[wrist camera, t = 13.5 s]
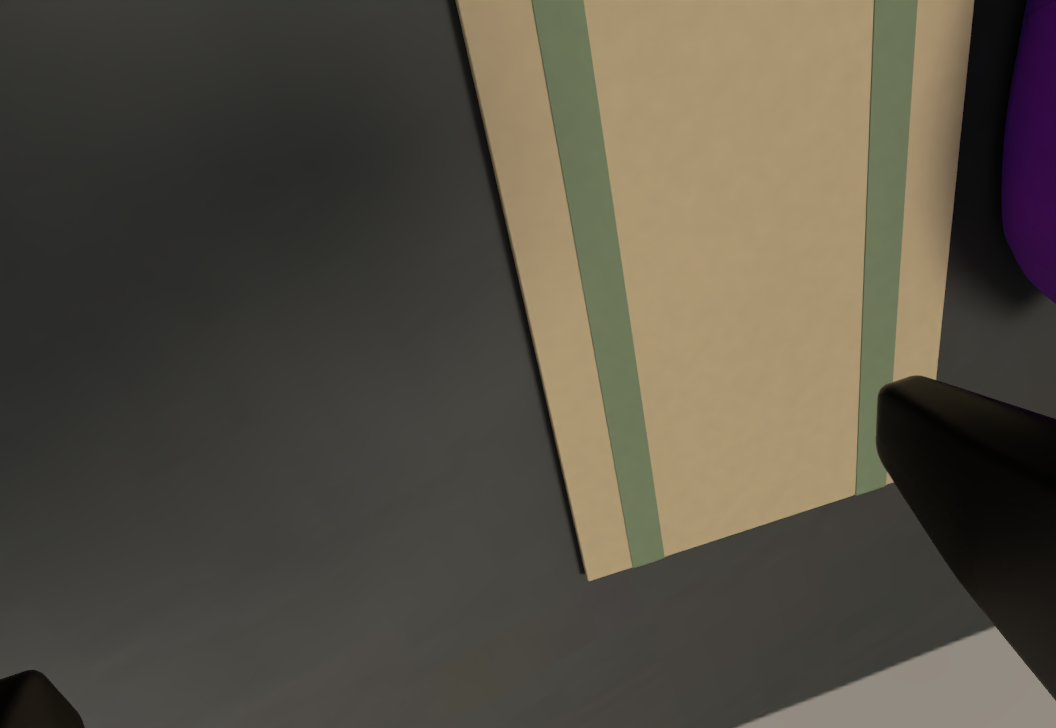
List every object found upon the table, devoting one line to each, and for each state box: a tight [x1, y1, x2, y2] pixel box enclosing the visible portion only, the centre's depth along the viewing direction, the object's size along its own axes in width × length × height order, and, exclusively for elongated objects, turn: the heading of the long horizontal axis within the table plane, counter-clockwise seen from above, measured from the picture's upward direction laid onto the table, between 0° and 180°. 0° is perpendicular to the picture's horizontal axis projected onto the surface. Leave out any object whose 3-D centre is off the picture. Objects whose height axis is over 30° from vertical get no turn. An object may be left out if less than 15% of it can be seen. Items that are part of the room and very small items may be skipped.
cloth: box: [455, 0, 974, 581], centre depth 20 cm, size 20×11×1 cm, turn 11°
